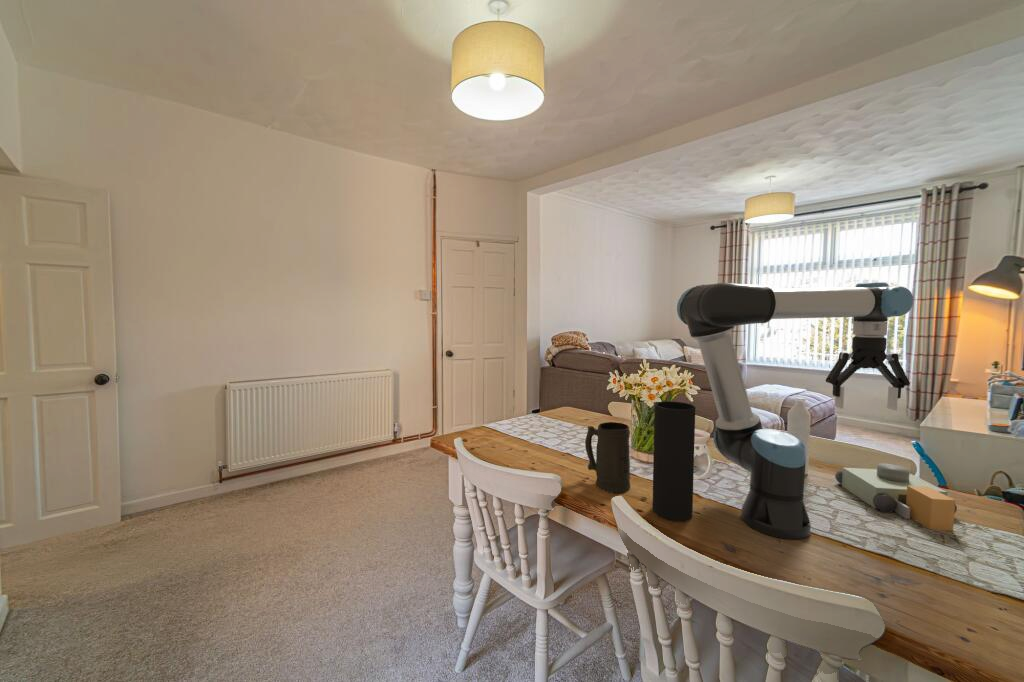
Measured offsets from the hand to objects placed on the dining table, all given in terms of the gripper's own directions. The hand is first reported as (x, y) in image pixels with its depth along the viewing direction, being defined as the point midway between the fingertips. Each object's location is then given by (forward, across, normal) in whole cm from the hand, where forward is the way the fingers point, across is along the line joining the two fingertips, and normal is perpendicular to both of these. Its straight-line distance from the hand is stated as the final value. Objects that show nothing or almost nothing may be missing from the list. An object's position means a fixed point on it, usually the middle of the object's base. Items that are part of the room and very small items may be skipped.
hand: (865, 408), depth 120 cm
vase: (+27, -57, -20) cm, 66 cm away
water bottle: (+27, -9, +18) cm, 34 cm away
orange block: (+27, +8, -14) cm, 31 cm away
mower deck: (+27, +8, -2) cm, 28 cm away
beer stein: (+27, -74, -5) cm, 79 cm away
